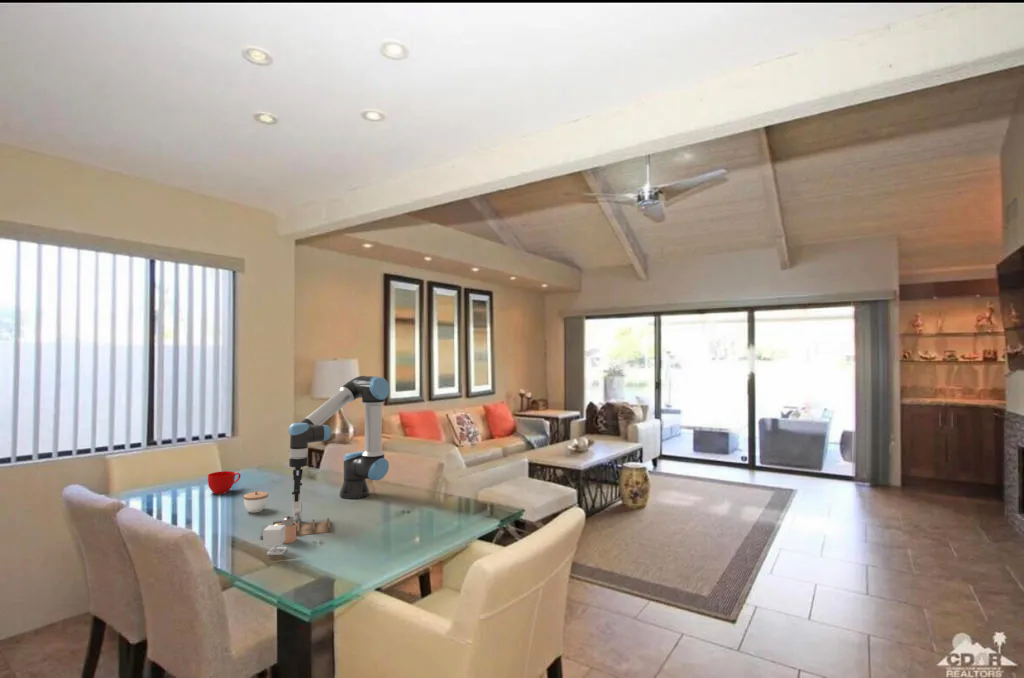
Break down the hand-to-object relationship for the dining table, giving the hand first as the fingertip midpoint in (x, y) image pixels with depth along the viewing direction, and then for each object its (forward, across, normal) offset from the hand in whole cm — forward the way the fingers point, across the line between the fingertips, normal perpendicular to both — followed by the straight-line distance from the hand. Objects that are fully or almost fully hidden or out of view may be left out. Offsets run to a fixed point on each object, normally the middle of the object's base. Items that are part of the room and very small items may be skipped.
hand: (296, 504), depth 236 cm
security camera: (+9, +36, -7) cm, 37 cm away
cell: (+8, 0, 0) cm, 8 cm away
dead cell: (+8, +24, -3) cm, 26 cm away
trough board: (+8, +13, +7) cm, 17 cm away
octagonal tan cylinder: (+8, +24, -3) cm, 26 cm away
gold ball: (+8, +13, -7) cm, 17 cm away
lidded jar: (+8, -24, -19) cm, 32 cm away
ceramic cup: (+8, -66, -38) cm, 77 cm away
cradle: (+8, +12, -7) cm, 16 cm away
